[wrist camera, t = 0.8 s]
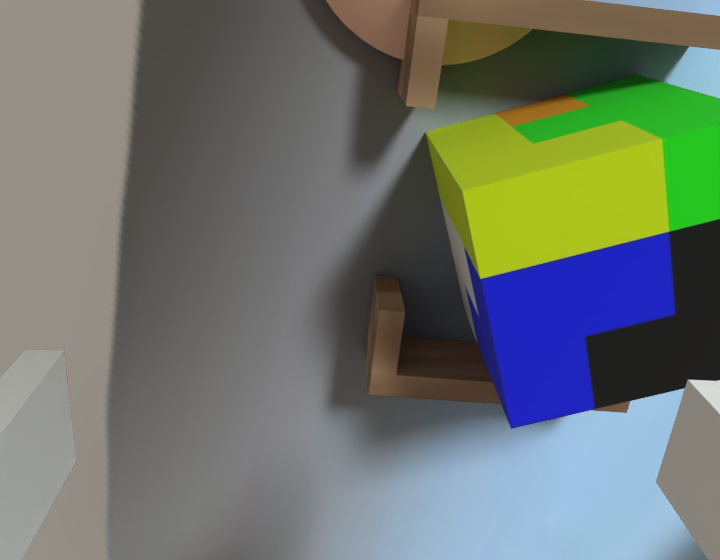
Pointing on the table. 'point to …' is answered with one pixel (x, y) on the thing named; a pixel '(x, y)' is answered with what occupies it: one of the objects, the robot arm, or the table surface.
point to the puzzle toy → (588, 243)
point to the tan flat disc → (390, 24)
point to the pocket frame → (419, 89)
